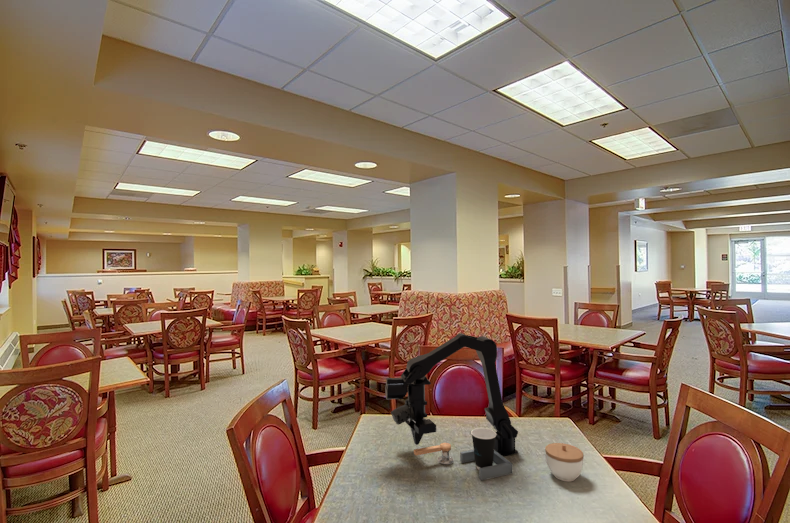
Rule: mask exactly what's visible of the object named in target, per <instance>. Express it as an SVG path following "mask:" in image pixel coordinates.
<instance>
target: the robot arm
mask: <svg viewBox="0 0 790 523" xmlns="http://www.w3.org/2000/svg"><path fill="white" fill-rule="evenodd" d="M464 348H467V349H471V350H475V353H476V355H477V357H478V359H479V361H480V362H481V365H482V371H483V377H484V381H485V382H484V383H485V388H486V393H487V398H488V406H487V407H484V411H485V416H486V417H485V419H486V420H487V422H489V424H490V425H491V426H492V427H493V429H495V432H496V434H497V435H496V437H495V447H494V450H495V451H496V452H498V453H499V454H500V455H501V456H503V457H506V456H509V455H510V456H511V455H516V454H519V451H518V450H517V449H516V438H517V437H518V434H519V431H518V429H516V428H515V427H514V426H513V425H512V420H511V417H510V416H509V413H508V411H507V409H506V407H505V405H504V402H503V397H502V392H501V387H500V381H499V378H498V377H499V376H498V371H497V366H496V361H497V357H498V347H497V343H496V342H495V341H494V340H493V339H491V338H489V337H487V336H483V335H480V336H478V337H477V336H473V335H467V334H464V333H461V332H459V333H457V334H456V335H455V336H454V337H453V338H451V339H449V340H447V341H446V342H444V343H442V344H441V345H439V346H438V347H436V348H434V349H432V350H431V351H429V352H428V353H425V354H421V355H417V356H415V357H412V358H410V359H409V360H408V361H407V363H406V368H405V370H403V372H402V373H401V375H400V377H386V381H385V387H384V388H385V389H384V392H385V399H386V400H402V399H403V400H404V398H406V396H407V399H405V401H404V404H403V405H400V406H398V407H397V408H394V409H393V410H391V412H390V414H391V416H392V419H393V422H395V424H396V425H398V426H399V425H402V424H404V423H406V424H407V425H408V426H409V428H410V431H411V435H412V438H413V442H414V444H415V446H418V445H419V444H420V442H421V440H422V438H423V436H424V435H426V434H432V433H436V432H437V425H436V424H435V422H434V421H432V420H431V419H429V418H428V413H427V412H426V406H428V401H427V400H426V389H425V387H426V386H427V385H432V383H431V381H430V380H429V379H428V378H427V376H426V375H428V374H429V373H430V372H431V370H433V368H434V367H435V366H436V365H437V364H439V363H440V362H442V361H443V360H446V359H447V358H449V357H450V356H452V355H454V354H455V353H456V352H458V351H460V350H461V349H464ZM427 418H428V419H427Z"/></svg>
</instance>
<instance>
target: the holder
mask: <svg viewBox="0 0 790 523" xmlns="http://www.w3.org/2000/svg"><path fill="white" fill-rule="evenodd" d="M459 453H460V454H459V455H460V458H459V460H460V461H459V462H460V463H461V464H462V463H468V462H469V463H470V462H475V457H474V448H473V449H469V450H468V449H467V450H463V451H460V452H459ZM493 463H494V464H493V466H488V467H483V468H479V470H478V479H479V480H480V481H485V480H489V479H493V478H498V477H502V476H507V475H513V463H512V462H511V461H510V460H508V459H507V458H506V457H505V456H502V455H500V454H499V453H498V452H496V451H495V450H494V457H493Z"/></svg>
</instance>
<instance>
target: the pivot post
mask: <svg viewBox="0 0 790 523" xmlns="http://www.w3.org/2000/svg"><path fill="white" fill-rule="evenodd" d="M437 462H438V463H439V464H440V465H443V466H444V465H445V466H449V465H452V464H453V463H454V458H453V457H452V456H450V451H442V450H441V456H438V457H437Z"/></svg>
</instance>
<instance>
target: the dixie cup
mask: <svg viewBox="0 0 790 523" xmlns="http://www.w3.org/2000/svg"><path fill="white" fill-rule="evenodd" d="M496 432H497V431H496V430H495V431H494V430H493V429H491V428H486V427H476V428H473V429H472V430H471V432H470V433H471V437H472V438H471V439H472V447H473V449H474V457H475V460H474V463H475V466H476V469H477V470H478V471H479V468H483V467H488V466H493V465H494V462H493V457H494V447H495V437H496V435H497V434H496Z"/></svg>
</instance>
